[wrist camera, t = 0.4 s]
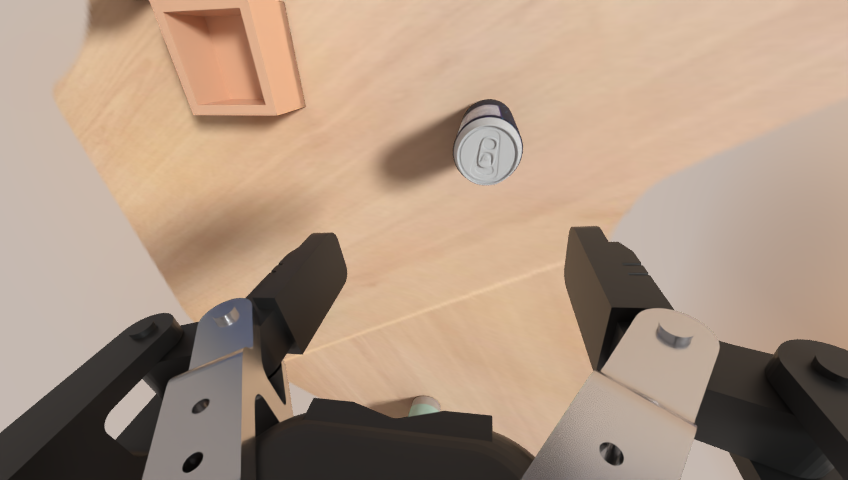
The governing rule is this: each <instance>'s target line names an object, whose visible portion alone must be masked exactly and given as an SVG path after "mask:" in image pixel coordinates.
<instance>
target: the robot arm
mask: <svg viewBox="0 0 848 480" xmlns="http://www.w3.org/2000/svg"><path fill="white" fill-rule="evenodd" d="M564 277H565V285H566V288H567V291H568V295H569V298H570V301H571V304H572V307H573V310H574V313H575V316H576V319H577V322H578V325H579V328H580V331H581V334H582V338H583V341H584V344H585V347H586V350H587V353H588V356H589V359H590V362H591V365H592V368H593V372H592V373H591V374H590V376H589V377H588V379H587V380H586V382H585V383H584V385H583V386H582V388H581V389H580V391H579V392H578V394H577V395H576V397H575V398H574V400H573V401H572V403H571V404H570V406H569V407H568V409H567V410H566V412H565V413H564V415H563V416H562V418H561V419H560V421H559V422H558V424H557V425H556V427H555V428H554V430H553V431H552V433H551V434H550V436H549V437H548V439H547V441H546V442H545V444H544V445H543V447H542V448H541V450H540V451H539V453H538V454H537V456H536V457H534V456H533V455H532V454H531V453H530V452H528V451H527V450H526V449H525V448H523V447H522V446H520V445H519V444H517V443H516V442H514V441H513V440H511V439H509V438H507V437H505V436H503V435H501V434H498V433H496V432H493V431H492V416H490V415H480V414H470V413H460V412H449V411H440V412H434V413H428V414H422V415H416V416H410V417H403V418H391V417H388V416H386V415H383V414H381V413H378V412H376V411H374V410H371V409H369V408H367V407H364V406H362V405H359V404H357V403H355V402H349V401H339V400H329V399H319V398H314V399H313V401H312V402H311V404H310V406H309V409H308V410H307V413H304V414H300V415H297V416H293V411H292V404H291V397H290V390H289V382H288V375H287V368H286V364H285V362H284V360H283V359H284V357H285V356H286V354H287V353H288V354H303V353H304V351H305V349H306V348H307V346H308V344H309V343H310V341H311V339H312V338H313V336H314V334H315V333H316V331H317V329H318V328H319V326H320V324H321V323H322V321H323V319H324V318H325V316H326V314H327V313H328V311H329V309H330V308H331V306H332V304H333V303H334V301H335V299H336V298H337V296H338V294H339V293H340V291H341V289H342V288H343V286H344V284H345V282H346V279H347V267H346V264H345V261H344V258H343V254H342V251H341V248H340V245H339V242H338V239H337V237H336V235H335V234H334V233H313V234H311V235H310V236H309V237H308V238H307V239H306V240H305V241H304V242H303V243H302V244H301V245H300V247H298V248H297V249H295V250H294V251H292V252H290V253H289V254H287V255H286V256H285V257H284V258H283V259H282V260H281V262H280V263H279V265H277V266H276V267H275V268H274V269H273V270H272V271H271V273H269V274H268V275H267V276H266V277H265V278H264V279H263V280H262V281H261V282H260V283H259V284H258V286H257V287H256V288H255V289H254V290H253V291H252V292H251V293H250V294H249V295H248V296H247V297H246V298H236V299H231V300H228V301H226V302H223V303H221V304H219V305H217V306H215V307H214V308H212V309H211V310H209V311H208V312H207V313H206V314H205V315H204V316H203V317H202V318H201V319H200V321H199V322H195V323H191V324H186V325H181V326H180V325H179V324H178V322H177V321H176V320H175V318H174V317H173V316H172V315H171V314H169V313H161V314H156V315H152V316H149V317H147V318H144V319H142V320H140V321H138V322H136V323H135V324H133V325H131V326H130V327H128V328H127V329H126V330H124V331H123V332H122V333H121V334H119V336H117V337H116V338H114V339H113V340H112V341H111V342H110V343H109V344H107V345H106V346H105V347H104V348H103V349H101V350H100V351H99V352H98V353H96V354H95V355H94V356H93V357H92V358H90V359H89V360H88V361H87V362H86V363H84V364H83V365H82V366H81V367H79V368H78V369H77V370H76V371H75V372H73V374H71V375H70V376H69V377H67V378H66V379H65V380H64V381H62V382H61V383H60V384H59V385H58V386H56V387H55V388H54V389H53V390H52V391H50V392H49V393H48V394H47V395H46V396H44V397H43V398H42V399H41V400H39V401H38V402H37V403H36V404H35V405H33V406H32V407H31V408H30V409H29V410H27V411H26V412H25V413H24V414H23V415H21V416H20V417H19V418H18V419H16V420H15V421H14V422H13V423H12V424H10V425H9V426H8V427H7V428H6V429H4V430H3V431H2V432H1V433H0V480H680V479H681V475H682V473H683V470H684V467H685V464H686V461H687V458H688V455H689V452H690V449H691V446H692V443H693V440H694V439H696V440H698V441H701V442H704V443H706V444H709V445H712V446H714V447H717V448H720V449H723V450H725V451H728V452H729V453H730V455H731V457H732V459H733V461H734V462H735V464H736V466H737V468H738V470H739V472H740V474H741V476H742V477H743V479H744V480H848V351H847V350H845V349H842V348H839V347H836V346H833V345H830V344H826V343H822V342H817V341H812V340H798V339H797V340H789V341H786V342H784V343H782V344H781V345H780V346H779V347H778V349H777V350H776V352H775V353H774V355H773V354H769V353H765V352H760V351H756V350H752V349H748V348H744V347H740V346H735V345H732V344H728V343H725V342H721V341H718V339H717V337H716V335H715V334H714V333H713V332H712V331H711V330H710V329H709V328H708V327H707V326H706V325H705V324H703V323H702V322H700V321H699V320H697V319H695V318H693V317H691V316H689V315H687V314H684V313H681V312H678V311H675V310H674V309H673V307H672V306H671V305H670V303H669V302H668V300H667V299H666V298H665V296H664V295H663V293H662V292H661V290H660V289H659V288H658V286H657V285H656V283H655V282H654V281H653V279H652V278H651V276H649V275H648V272H647V271H646V269H645V268H644V267H643V266H641V262H640V261H639V259H638V258H637V257H636V255H635V254H634V252H633V251H631V250H630V249H628V248H627V247H625V246H624V245H622V244H620V243H619V242H608V240H607V239H606V237H605V235H604V234H603V232H602V230H601V229H600V227H598V226H588V227H571V228H570V231H569V237H568V245H567V252H566V260H565V268H564ZM141 379H143V380H144V381H145V382H146V383H147V384H148V385H149V386H150V387H151V388H152V389H153V390H154V391H155V393H156V395H155V396H154V397H153V398H152V399H151V401H150V402H149V403H148V404H147V405H146V406H145V407H144V408H143V409H142V411H141V412H140V413H139V414H138V415H137V416H136V417H135V419H134V420H133V421H132V422H131V423H130V424H129V425H128V426H127V427H126V429H125V430H124V431H123V432H122V433H121V434H120V435H119V436H118V437H117V439H116V440H114V439H113V438H112V437H111V436H109V435H108V434H107V433H106V431H105V428H104V423H105V420H106V417H107V415H108V414H109V412H110V411H111V410H112V409H113V408H114V407H115V405H117V404H118V402H119V401H121V400H122V399H123V398H124V397H125V395H127V394H128V392H129V391H130V390H131V389H132V388H133V387H134V386H135V385H136V384H137V383H138V382H139V381H140V380H141Z"/></svg>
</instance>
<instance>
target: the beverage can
mask: <svg viewBox="0 0 848 480" xmlns="http://www.w3.org/2000/svg"><path fill="white" fill-rule="evenodd" d="M522 153H523V143H522V139H521V136H520V133H519V131H518V128H517V126H516V123H515V121H514V118H513V116H512V113H511V111H510V110H509V108H508V107H507V106H506V105H505V104H503V103H502V102H500V101H497V100H492V99H486V100H482V101H479V102H477V103H475V104H474V105H472V106H471V107H470V108H469V109H468V110H467V112H466V113H465V115H464V117H463V119H462V122H461V125H460V128H459V131H458V134H457V136H456V139H455V142H454V146H453V158H454V162H455V165H456V167H457V169H458V170H459V172H460V173H461V174H462V175H463V176H464V177H465V178H467V179H468V180H469V181H471V182H473V183H475V184H479V185H494V184H497V183H499V182H501V181H503V180H505V179H506V178H507V177H509V176H510V175H511V174H512V173H513V172H514V171H515V169H516V168H517V167H518V165H519V163H520V160H521V157H522Z"/></svg>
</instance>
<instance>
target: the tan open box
mask: <svg viewBox="0 0 848 480" xmlns="http://www.w3.org/2000/svg"><path fill="white" fill-rule="evenodd" d="M149 1H150V4H151V6H152V9H153V12H154V14H155V17H156V19H157V22H158V25H159V27H160V30H161V32H162V35H163V38H164V40H165V43H166V45H167V48H168V50H169V53H170V56H171V58H172V61H173V63H174V66H175V69H176V71H177V74H178V76H179V79H180V81H181V84H182V87H183V89H184V92H185V94H186V97H187V100H188V102H189V105H190V107H191V110H192V112H193V115H281V114H284V113H287V112H290V111H293V110H297V109H300V108H303V107H306V105H305V100H304V95H303V91H302V86H301V81H300V76H299V71H298V66H297V62H296V57H295V52H294V47H293V42H292V37H291V32H290V28H289V23H288V18H287V13H286V8H285V3H284V2H282V1H278V0H149Z"/></svg>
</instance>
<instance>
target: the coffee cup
mask: <svg viewBox="0 0 848 480" xmlns="http://www.w3.org/2000/svg"><path fill="white" fill-rule="evenodd" d="M434 412H440V404H439V402H438V401H437V400H435V399H434V398H431V397H428V396H419V397H416V398H415V399H414V400H413V403H412V406H411V409H410V412H409V415H408V417H410V416H416V415H422V414H428V413H434Z"/></svg>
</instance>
